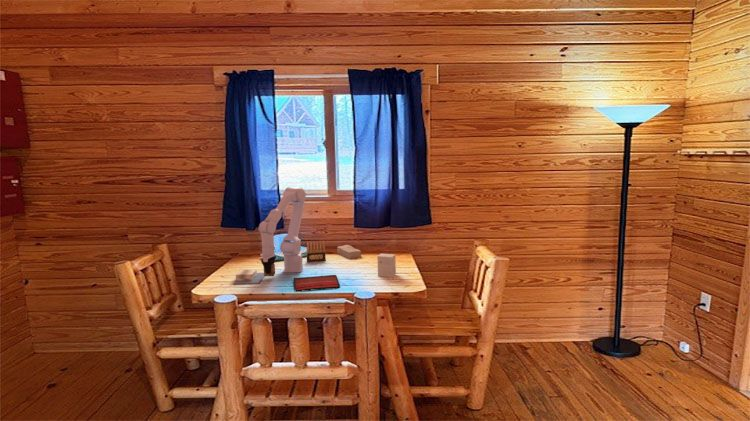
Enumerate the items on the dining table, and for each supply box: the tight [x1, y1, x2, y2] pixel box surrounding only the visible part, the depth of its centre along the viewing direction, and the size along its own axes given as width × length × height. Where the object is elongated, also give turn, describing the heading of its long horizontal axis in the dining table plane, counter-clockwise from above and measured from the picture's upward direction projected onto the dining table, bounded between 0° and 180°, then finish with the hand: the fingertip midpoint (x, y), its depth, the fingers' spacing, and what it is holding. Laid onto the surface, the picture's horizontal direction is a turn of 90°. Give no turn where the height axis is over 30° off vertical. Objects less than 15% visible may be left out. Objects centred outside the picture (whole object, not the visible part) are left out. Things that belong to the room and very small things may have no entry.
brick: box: [336, 244, 362, 260], centre depth 250 cm, size 17×8×5 cm, turn 31°
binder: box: [293, 274, 341, 292], centre depth 198 cm, size 16×2×21 cm
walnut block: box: [263, 263, 276, 277], centre depth 207 cm, size 4×4×5 cm
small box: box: [377, 253, 397, 278], centre depth 210 cm, size 8×6×10 cm
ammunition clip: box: [306, 239, 327, 263], centre depth 238 cm, size 11×2×12 cm, turn 105°
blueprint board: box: [232, 269, 266, 285], centre depth 207 cm, size 12×16×4 cm
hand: (269, 272), depth 207 cm, fingers closed on walnut block, 4 cm apart
